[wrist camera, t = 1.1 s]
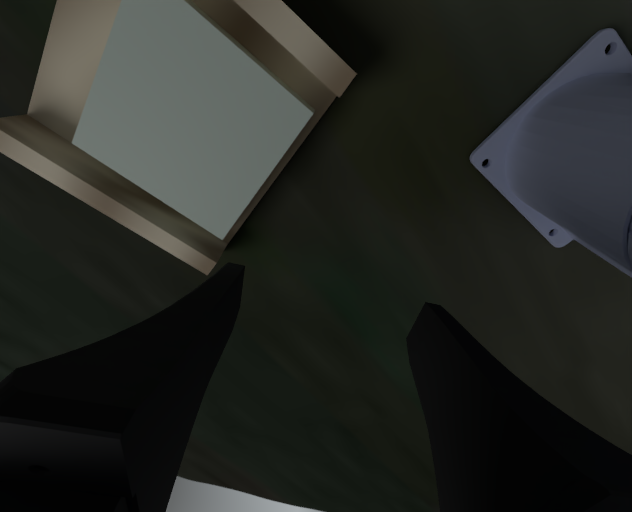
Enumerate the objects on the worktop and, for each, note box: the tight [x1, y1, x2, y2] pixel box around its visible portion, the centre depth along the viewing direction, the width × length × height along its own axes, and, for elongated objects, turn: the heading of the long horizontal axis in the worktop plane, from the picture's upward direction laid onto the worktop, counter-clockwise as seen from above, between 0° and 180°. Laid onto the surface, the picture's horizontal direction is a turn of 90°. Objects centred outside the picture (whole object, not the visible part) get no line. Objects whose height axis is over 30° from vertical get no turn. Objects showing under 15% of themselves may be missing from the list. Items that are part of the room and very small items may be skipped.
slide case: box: [0, 0, 357, 275], centre depth 16 cm, size 13×14×3 cm
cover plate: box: [72, 0, 315, 240], centre depth 16 cm, size 9×9×2 cm
